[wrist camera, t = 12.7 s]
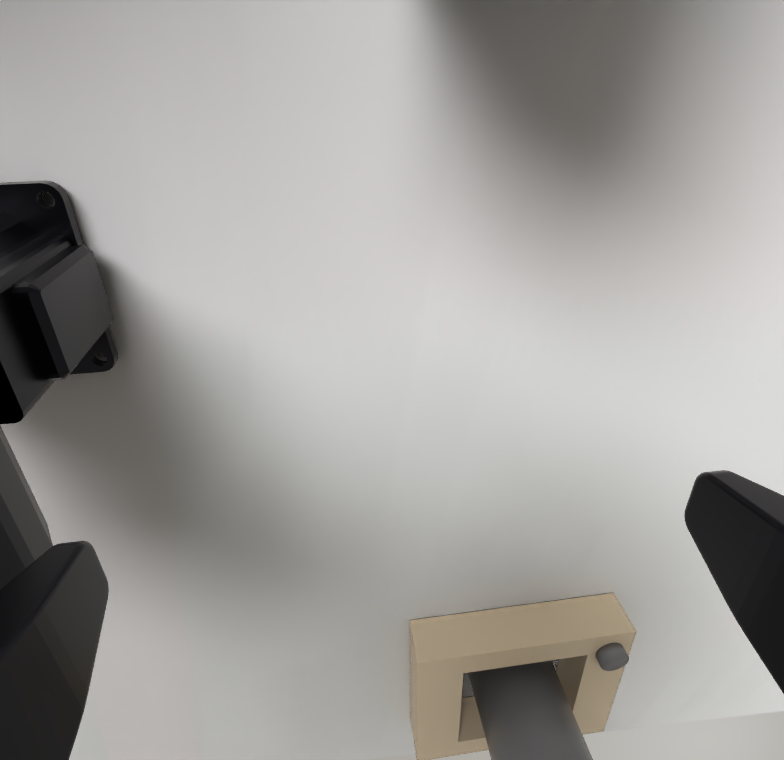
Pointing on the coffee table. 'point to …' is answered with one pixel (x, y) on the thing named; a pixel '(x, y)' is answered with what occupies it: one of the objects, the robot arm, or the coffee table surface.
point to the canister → (527, 714)
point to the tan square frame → (514, 664)
